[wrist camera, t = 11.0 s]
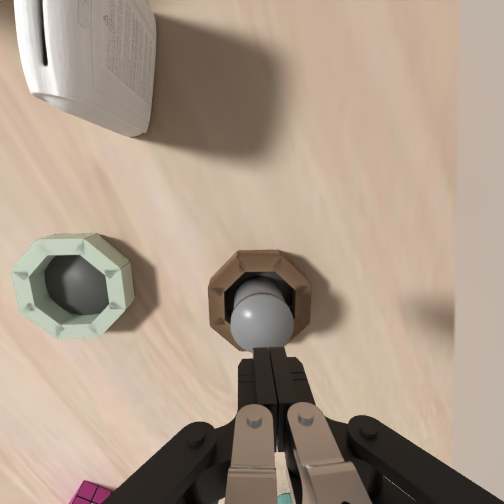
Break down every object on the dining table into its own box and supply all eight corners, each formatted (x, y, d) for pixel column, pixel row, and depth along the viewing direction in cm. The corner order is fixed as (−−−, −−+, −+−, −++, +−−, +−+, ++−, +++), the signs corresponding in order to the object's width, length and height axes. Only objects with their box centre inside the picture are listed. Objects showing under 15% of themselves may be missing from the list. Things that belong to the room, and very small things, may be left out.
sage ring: (23, 234, 28) (3, 239, 26) (127, 232, 29) (116, 238, 26) (42, 327, 31) (25, 339, 29) (137, 324, 31) (129, 336, 29)
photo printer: (109, 1, 24) (-20, -173, 12) (161, 12, 24) (86, -147, 12) (104, 132, 27) (-7, 95, 15) (152, 141, 27) (81, 111, 15)
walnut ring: (209, 251, 30) (206, 257, 27) (306, 249, 30) (312, 255, 28) (213, 339, 32) (211, 352, 30) (303, 336, 32) (308, 349, 30)
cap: (231, 273, 30) (229, 297, 24) (284, 272, 30) (294, 295, 24) (233, 321, 31) (231, 354, 25) (283, 320, 31) (293, 352, 25)
